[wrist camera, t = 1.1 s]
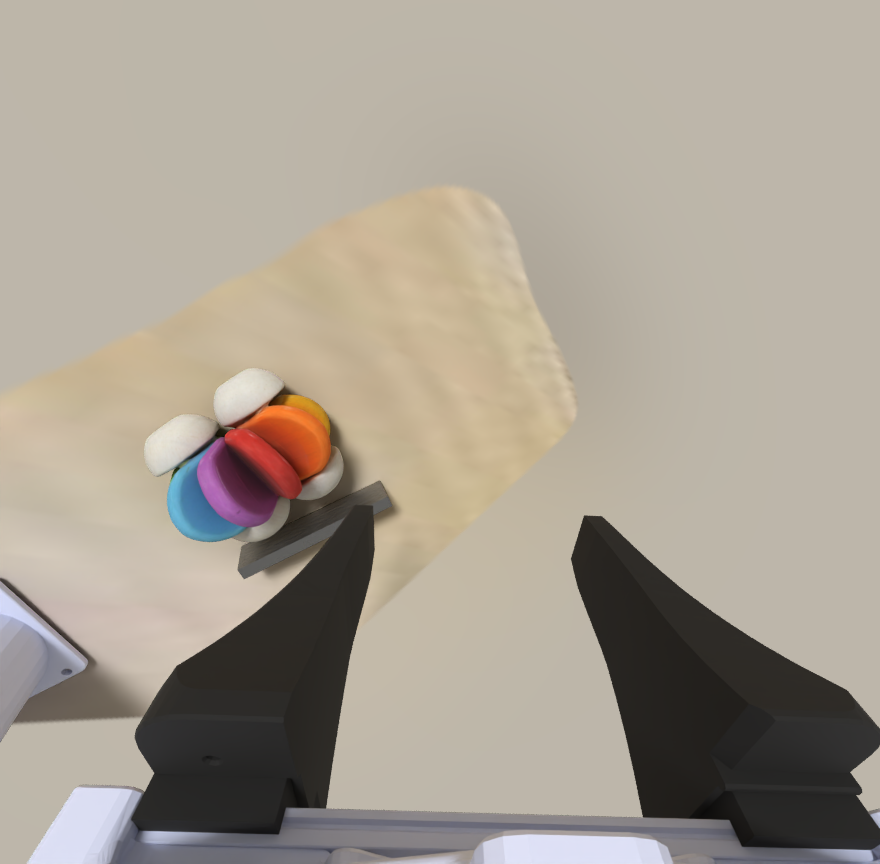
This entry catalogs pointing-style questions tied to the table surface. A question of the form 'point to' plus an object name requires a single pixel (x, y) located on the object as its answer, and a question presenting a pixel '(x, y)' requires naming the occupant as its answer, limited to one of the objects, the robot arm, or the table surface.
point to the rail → (307, 530)
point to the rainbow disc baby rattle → (244, 460)
